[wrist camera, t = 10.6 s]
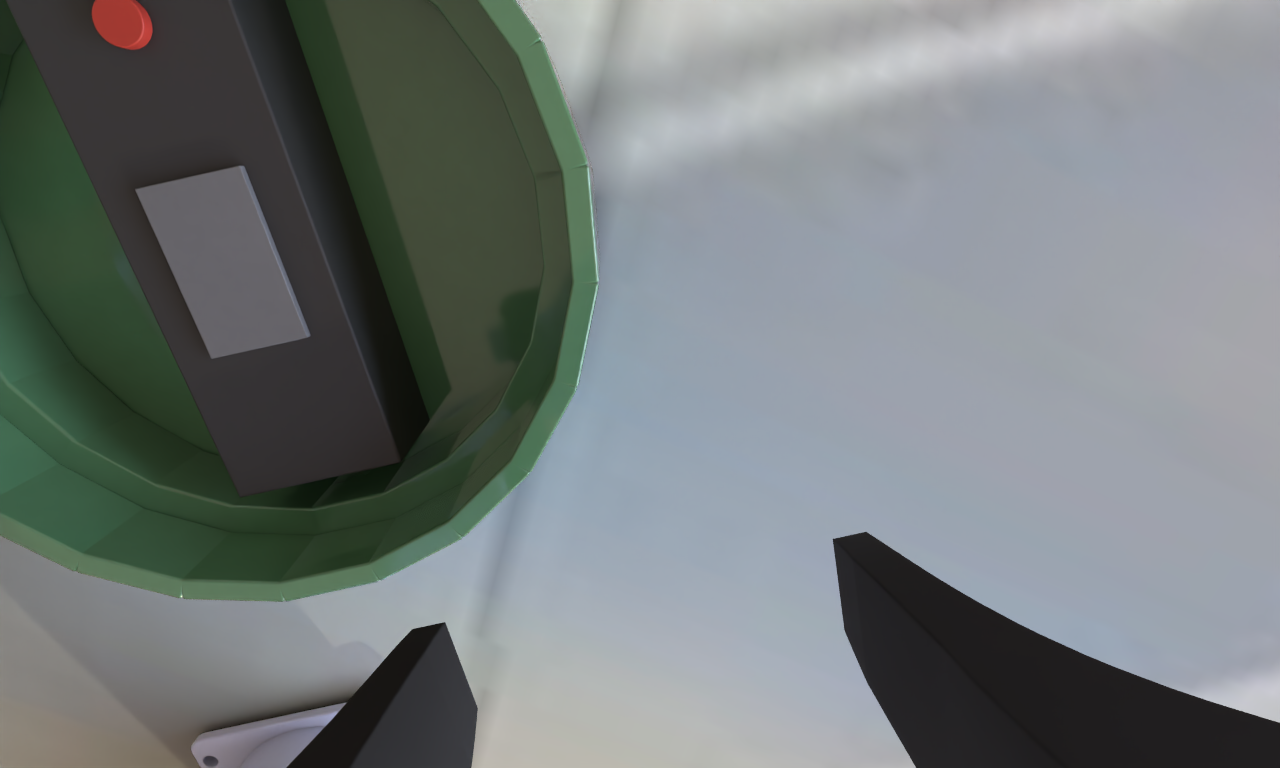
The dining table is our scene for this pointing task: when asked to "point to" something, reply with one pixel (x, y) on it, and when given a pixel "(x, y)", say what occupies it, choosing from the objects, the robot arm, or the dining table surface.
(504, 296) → the bowl
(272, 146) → the remote
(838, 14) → the dining table surface
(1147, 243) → the dining table surface
